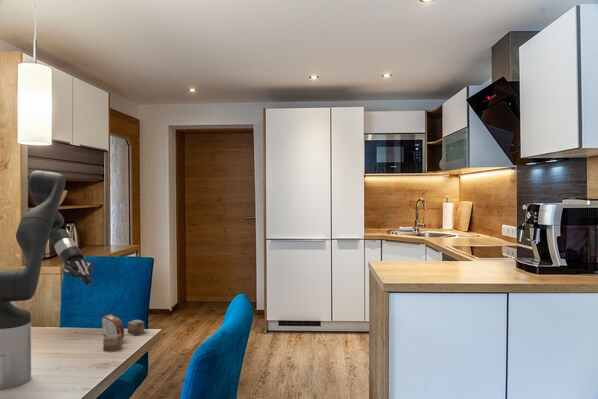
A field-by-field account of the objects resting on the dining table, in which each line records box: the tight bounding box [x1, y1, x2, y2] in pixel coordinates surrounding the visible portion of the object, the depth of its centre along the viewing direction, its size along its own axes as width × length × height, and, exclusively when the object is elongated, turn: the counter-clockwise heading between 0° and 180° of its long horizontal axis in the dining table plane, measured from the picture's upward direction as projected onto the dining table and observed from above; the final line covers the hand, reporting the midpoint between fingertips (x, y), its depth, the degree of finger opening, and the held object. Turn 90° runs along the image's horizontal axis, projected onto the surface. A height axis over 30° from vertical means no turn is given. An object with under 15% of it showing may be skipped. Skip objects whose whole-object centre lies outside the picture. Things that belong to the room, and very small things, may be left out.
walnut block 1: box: [102, 334, 123, 352], centre depth 145 cm, size 4×4×5 cm
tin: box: [101, 313, 125, 340], centre depth 155 cm, size 15×3×8 cm, turn 47°
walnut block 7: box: [127, 319, 145, 336], centre depth 162 cm, size 4×4×5 cm
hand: (89, 283), depth 161 cm, fingers closed
